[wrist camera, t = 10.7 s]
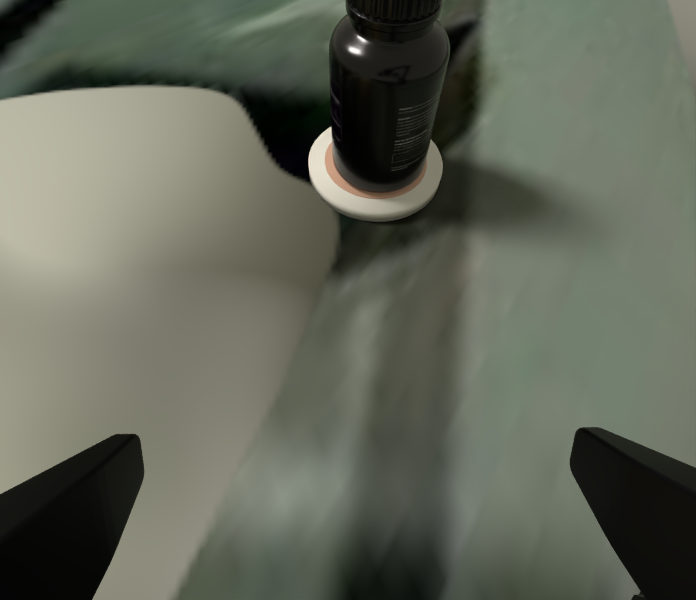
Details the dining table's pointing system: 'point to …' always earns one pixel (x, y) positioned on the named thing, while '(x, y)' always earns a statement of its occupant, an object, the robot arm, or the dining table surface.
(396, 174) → the supplement bottle
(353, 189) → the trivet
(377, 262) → the dining table surface
